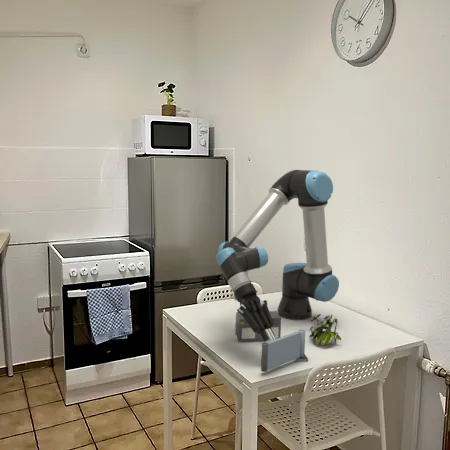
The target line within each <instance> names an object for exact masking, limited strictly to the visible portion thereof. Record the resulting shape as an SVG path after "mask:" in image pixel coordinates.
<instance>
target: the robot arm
mask: <svg viewBox="0 0 450 450" xmlns="http://www.w3.org/2000/svg"><path fill="white" fill-rule="evenodd" d="M333 184H334V183H333V181H332V179H331V177H330V176H329V175H328V174H327V173H326V172H324V171H319V170H313V169H312V170H310V169H309V170H307V169H294V170H290V171H287V172H286V173H284V174H283V175H282V176H281V177H280V178H279V179H277V180H276V181H275V182H274V183H273V184H272V186H271V187H270V188H269V189H268V194H267V195H266V197H265V198H264V199H263V200H262V201H261V203H260V204H259V205H258V206H257V207H256V209H255V210H254V211H253V212H252V214H251V215H250V216H249V217H248V219H246V221H245V222H244V224H243V225H241V227H240V228H239V229H238V231H236V233H235V234H234V235H233V237H232V238H231V239H230V240H229V241H224V242H222V243H221V244H220V245H219V246H218V249H217V253H216V256H215V260H216V262H217V264H218V268H219V269H220V271H221V272H222V274H223V276H224V278H225V280H226V282H227V284H228V285H229V287H230V289H231V291H232V292H233V296H234V297H235V299H236V301H237V302H238V303H239V305H240V306H239V308H238V307H237V309H236V312H239V313H240V314H241V315H242V316H243V318H244V319H245V320H246V322H247V323H248V324H249V326H250V327H251V329H252V330H253V331H254V332H255V333H256V332H258V333H257V334H261V336H262V338H263V340H264V341H263V342H268V341H271V340H274V339H275V335H274V333H273V331H272V329H271V327H272V326H273V325H274V323H273V320H272V317H271V315H270V312H269V311H270V309H269V307H268V301H267V300H266V299H264V300H262V299H261V298H260V297H259V296H258V295H257V289H256V288H255V285H254V284H253V282H252V280H251V278H250V277H249V274H248V275H247V273H246V271H248V272H249V271H253V270H257V269H260V268H262V267H265V266H267V265H268V262H269V254H268V252H267V250H266V249H265V248H264V247H262V246H259V247H256V246H255V247H254V248H251V246H252V245H253V243H254V242H255V241H256V239H257V238H258V237H259V236H260V234H261V233H262V232H263V231H264V230H265V229H266V228H267V226H268V225H269V224H270V222H271V221H272V220H273V218H274V217H275V216H276V215H277V214H278V212H279V211H280V210H281V208H283V206H286V205H288V204H289V203H290V202H291V201H292V200H293V199H297V203H298V205H297V206H298V207H299V208H301V210H302V221H303V231H304V232H303V233H304V243H305V244H304V246H305V257H306V259H305V260H306V262H292V263H291V262H290V263H286V264H285V265H284V266H283V269H282V284H281V285H282V289H281V290H282V291H281V295H282V296H281V299H280V301H279V303H278V306H277V311H276V312H277V313H278V314H279V316H280V317H281V318H283V319H287V320H295V321H296V320H297V321H298V320H299V321H300V320H308V319H310V318H311V317H312V314H313V309H312V306H311V303H310V298H311V299H313V300H315V301H318V302H319V301H320V302H323V303H327V302H330V301H331V300H333V299H334V298H335V296H336V295H337V293H338V291H339V287H340V282H339V281H340V280H339V278H338V277H337V276H336V275H334V274H333V267H332V266H331V265H330V264H329V260H328V248H327V247H328V246H327V231H326V230H327V229H326V216H325V208H326V206H327V205H328V204H329V203H328V201H329V200H330V199H331V197H332V194H333V192H334V185H333ZM255 327H256V328H255Z"/></svg>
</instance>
